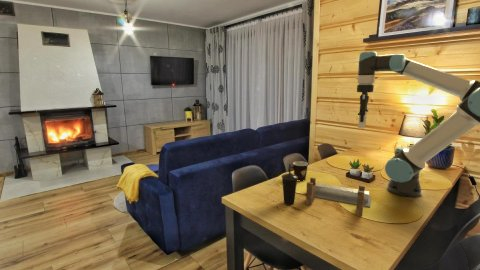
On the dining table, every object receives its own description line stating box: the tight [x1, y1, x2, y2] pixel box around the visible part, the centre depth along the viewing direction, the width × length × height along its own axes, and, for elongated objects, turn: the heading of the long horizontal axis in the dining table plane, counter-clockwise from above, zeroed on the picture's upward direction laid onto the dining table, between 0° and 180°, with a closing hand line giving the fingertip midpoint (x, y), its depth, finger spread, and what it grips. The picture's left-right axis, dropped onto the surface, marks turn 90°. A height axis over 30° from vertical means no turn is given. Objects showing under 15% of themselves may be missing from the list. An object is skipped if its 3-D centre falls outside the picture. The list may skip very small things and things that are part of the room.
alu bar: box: [315, 182, 370, 202], centre depth 132 cm, size 28×4×4 cm, turn 62°
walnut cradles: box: [305, 177, 366, 217], centre depth 121 cm, size 24×8×11 cm, turn 62°
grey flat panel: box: [315, 193, 372, 208], centre depth 133 cm, size 30×12×1 cm, turn 62°
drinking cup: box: [281, 163, 298, 206], centre depth 124 cm, size 8×8×20 cm
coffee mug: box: [288, 160, 309, 182], centre depth 155 cm, size 12×9×10 cm
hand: (362, 126), depth 134 cm, fingers open, 13 cm apart
